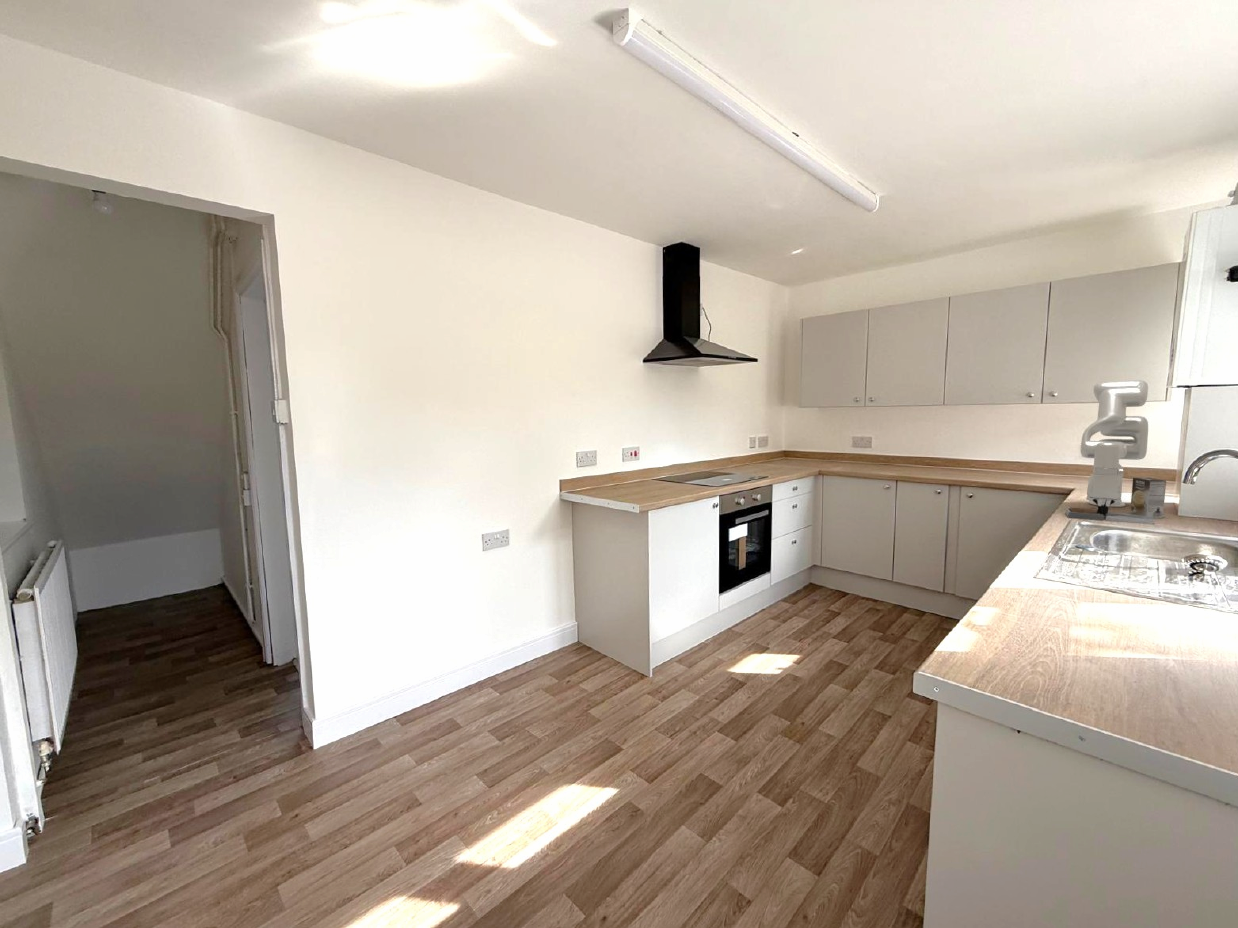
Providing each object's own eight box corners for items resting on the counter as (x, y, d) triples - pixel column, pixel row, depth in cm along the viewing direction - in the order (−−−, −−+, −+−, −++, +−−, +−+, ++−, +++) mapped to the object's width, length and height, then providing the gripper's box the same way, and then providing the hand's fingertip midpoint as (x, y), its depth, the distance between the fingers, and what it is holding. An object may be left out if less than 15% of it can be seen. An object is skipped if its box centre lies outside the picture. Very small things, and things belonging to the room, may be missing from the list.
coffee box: (1128, 513, 220) (1131, 477, 219) (1146, 514, 219) (1149, 477, 218) (1146, 517, 211) (1149, 480, 210) (1164, 518, 210) (1167, 480, 209)
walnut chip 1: (1069, 515, 220) (1070, 506, 220) (1082, 516, 218) (1082, 506, 218) (1070, 516, 217) (1071, 507, 217) (1083, 517, 215) (1083, 508, 214)
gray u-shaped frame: (1065, 513, 224) (1065, 507, 224) (1098, 515, 218) (1098, 510, 217) (1068, 517, 215) (1068, 512, 214) (1103, 520, 208) (1103, 514, 208)
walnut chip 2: (1082, 516, 218) (1082, 507, 217) (1094, 517, 215) (1095, 507, 215) (1083, 517, 215) (1084, 508, 214) (1096, 518, 212) (1096, 509, 212)
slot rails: (1102, 516, 216) (1102, 512, 216) (1148, 519, 208) (1148, 515, 208) (1105, 520, 209) (1106, 515, 208) (1154, 523, 200) (1154, 519, 200)
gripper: (1128, 472, 209) (1125, 515, 211) (1080, 470, 218) (1077, 512, 220) (1132, 473, 203) (1129, 518, 205) (1082, 472, 212) (1079, 514, 214)
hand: (1102, 515), depth 213 cm, fingers closed
